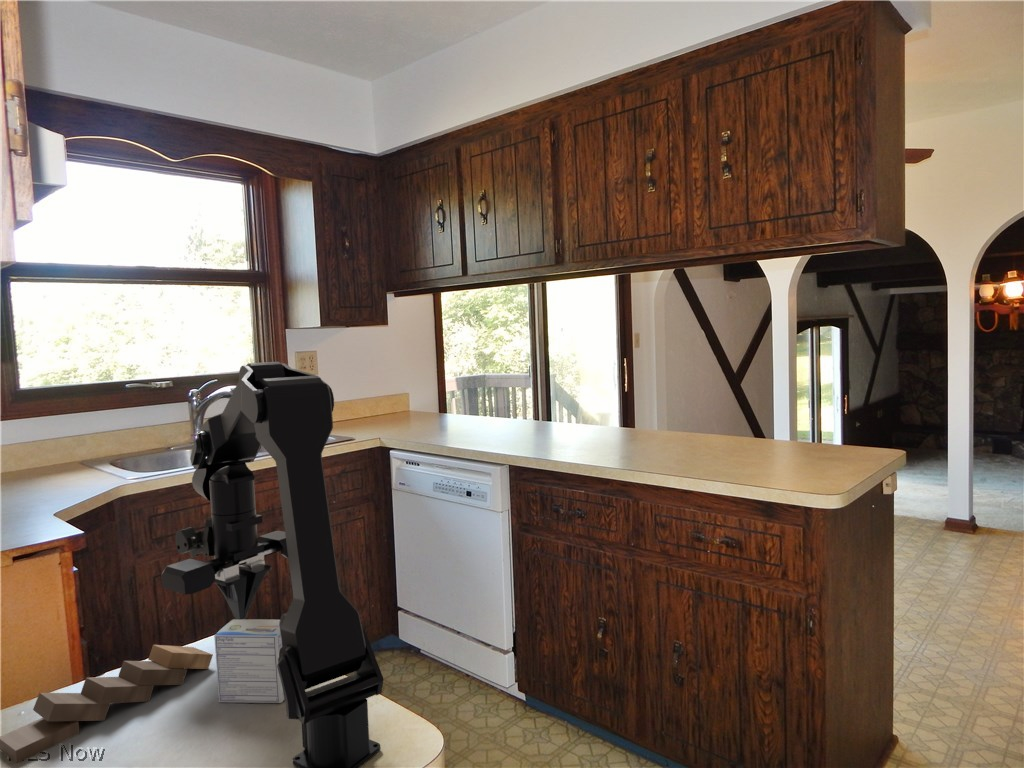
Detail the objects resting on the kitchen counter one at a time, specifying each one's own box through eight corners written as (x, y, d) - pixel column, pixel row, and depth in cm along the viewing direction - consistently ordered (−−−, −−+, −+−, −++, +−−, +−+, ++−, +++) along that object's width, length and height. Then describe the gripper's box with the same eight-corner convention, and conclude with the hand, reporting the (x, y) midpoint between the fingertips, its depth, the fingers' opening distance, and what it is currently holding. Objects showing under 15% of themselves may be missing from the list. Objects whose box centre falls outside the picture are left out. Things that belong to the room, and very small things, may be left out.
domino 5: (193, 647, 91) (153, 644, 87) (212, 654, 89) (172, 652, 84) (188, 661, 91) (148, 659, 86) (208, 669, 88) (167, 667, 84)
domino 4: (167, 661, 87) (123, 660, 83) (187, 669, 85) (143, 669, 80) (162, 675, 87) (118, 676, 82) (182, 684, 85) (137, 685, 80)
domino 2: (59, 710, 77) (-3, 737, 72) (78, 721, 74) (15, 750, 69) (61, 725, 77) (-1, 753, 72) (79, 736, 75) (17, 767, 70)
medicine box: (296, 685, 84) (292, 618, 83) (281, 705, 79) (277, 634, 79) (236, 684, 84) (231, 618, 84) (217, 704, 80) (213, 634, 79)
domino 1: (94, 693, 80) (39, 692, 75) (110, 703, 77) (54, 703, 73) (88, 709, 79) (32, 709, 75) (104, 720, 77) (48, 721, 72)
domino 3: (134, 676, 84) (86, 677, 79) (154, 685, 81) (105, 687, 77) (129, 691, 83) (80, 693, 78) (149, 701, 81) (100, 704, 76)
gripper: (253, 489, 105) (259, 586, 106) (133, 519, 89) (142, 633, 90) (302, 497, 99) (307, 600, 100) (183, 530, 83) (191, 652, 84)
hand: (240, 619), depth 94 cm, fingers closed
